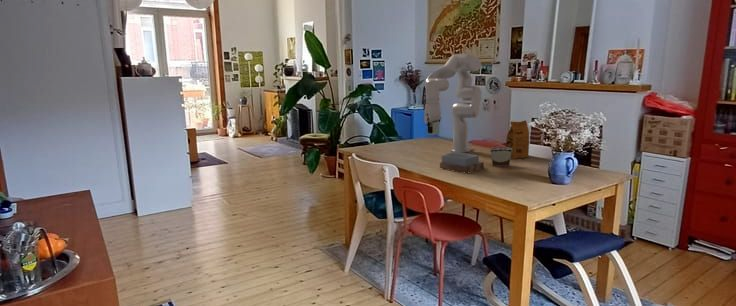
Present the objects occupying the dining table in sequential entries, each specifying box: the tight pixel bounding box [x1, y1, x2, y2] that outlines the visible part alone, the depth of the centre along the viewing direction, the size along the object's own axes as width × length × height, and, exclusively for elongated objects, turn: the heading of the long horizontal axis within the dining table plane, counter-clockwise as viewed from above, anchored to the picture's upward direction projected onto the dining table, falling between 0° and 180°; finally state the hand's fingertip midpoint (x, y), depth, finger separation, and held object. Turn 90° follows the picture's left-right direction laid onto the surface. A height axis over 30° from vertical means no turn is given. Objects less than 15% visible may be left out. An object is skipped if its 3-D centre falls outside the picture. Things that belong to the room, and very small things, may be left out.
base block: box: [439, 160, 485, 174], centre depth 264 cm, size 16×18×4 cm
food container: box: [489, 146, 513, 167], centre depth 268 cm, size 12×6×10 cm, turn 84°
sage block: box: [426, 121, 440, 136], centre depth 278 cm, size 5×5×7 cm
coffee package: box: [505, 120, 530, 160], centre depth 285 cm, size 10×12×22 cm
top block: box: [441, 152, 480, 167], centre depth 263 cm, size 12×16×4 cm
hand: (433, 131), depth 278 cm, fingers closed on sage block, 5 cm apart
